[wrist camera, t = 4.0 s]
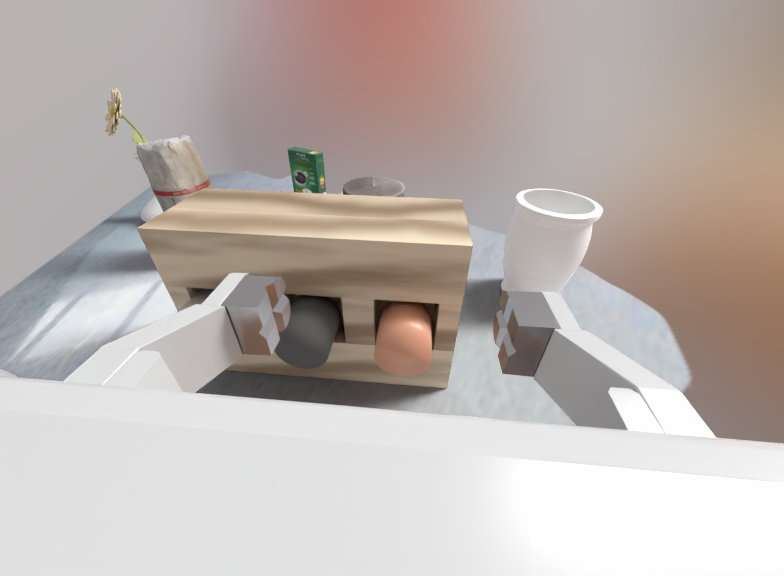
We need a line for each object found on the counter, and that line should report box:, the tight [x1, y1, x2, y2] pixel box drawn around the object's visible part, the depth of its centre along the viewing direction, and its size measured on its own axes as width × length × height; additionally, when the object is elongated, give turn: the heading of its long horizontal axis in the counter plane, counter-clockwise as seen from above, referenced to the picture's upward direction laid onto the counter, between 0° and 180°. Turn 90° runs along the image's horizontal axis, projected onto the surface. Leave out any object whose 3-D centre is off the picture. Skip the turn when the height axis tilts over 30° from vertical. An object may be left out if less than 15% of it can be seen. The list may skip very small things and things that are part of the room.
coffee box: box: [288, 147, 326, 194], centre depth 74 cm, size 8×3×13 cm, turn 62°
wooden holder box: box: [137, 188, 473, 388], centre depth 35 cm, size 10×28×18 cm, turn 85°
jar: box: [501, 189, 603, 292], centre depth 46 cm, size 11×10×15 cm
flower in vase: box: [105, 88, 163, 222], centre depth 63 cm, size 13×11×25 cm
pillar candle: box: [343, 177, 405, 197], centre depth 53 cm, size 10×10×15 cm
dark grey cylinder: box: [274, 295, 341, 369], centre depth 30 cm, size 5×5×5 cm
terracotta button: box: [374, 301, 432, 376], centre depth 30 cm, size 5×5×5 cm
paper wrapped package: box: [137, 135, 213, 212], centre depth 53 cm, size 8×8×20 cm
